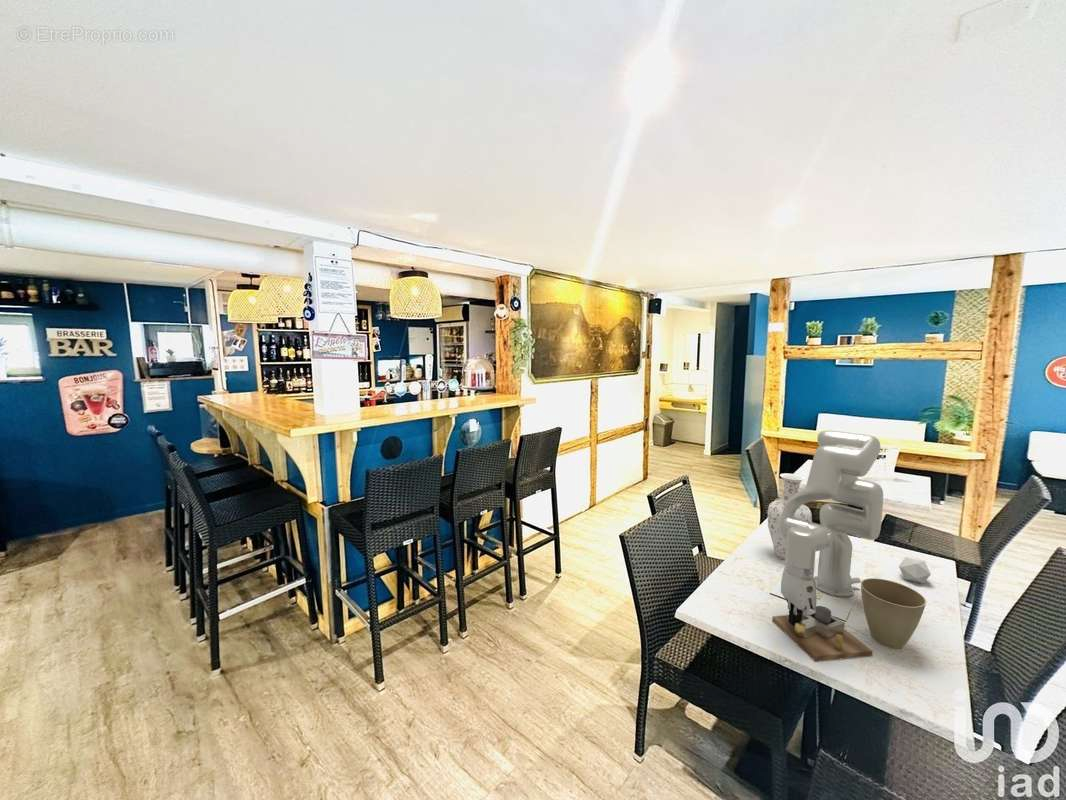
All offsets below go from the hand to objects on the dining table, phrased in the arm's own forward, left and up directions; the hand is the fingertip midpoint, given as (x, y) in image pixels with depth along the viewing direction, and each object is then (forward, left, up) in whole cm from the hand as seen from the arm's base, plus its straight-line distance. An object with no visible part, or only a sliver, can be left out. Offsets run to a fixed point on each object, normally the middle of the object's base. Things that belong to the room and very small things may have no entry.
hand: (794, 623), depth 132 cm
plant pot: (-25, +7, -3) cm, 26 cm away
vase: (-32, -45, -3) cm, 55 cm away
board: (-6, +3, -3) cm, 7 cm away
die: (-67, -22, -3) cm, 70 cm away
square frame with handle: (-5, +2, -1) cm, 5 cm away
